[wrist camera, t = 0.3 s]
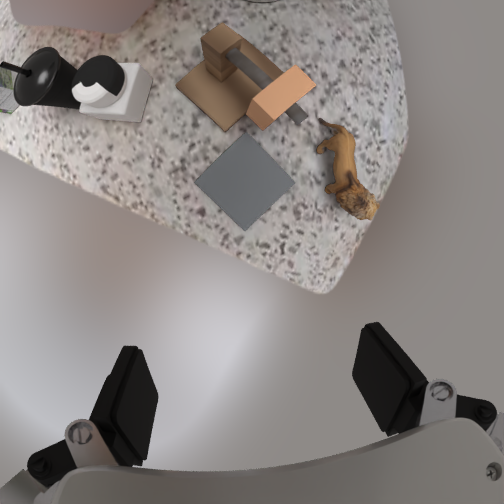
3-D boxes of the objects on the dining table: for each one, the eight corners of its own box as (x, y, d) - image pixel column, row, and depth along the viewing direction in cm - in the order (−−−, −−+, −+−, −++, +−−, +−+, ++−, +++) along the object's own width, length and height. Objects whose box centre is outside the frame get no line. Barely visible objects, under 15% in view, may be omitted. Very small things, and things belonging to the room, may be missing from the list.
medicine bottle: (112, 76, 30) (76, 51, 18) (154, 78, 31) (128, 48, 20) (100, 119, 32) (57, 107, 20) (141, 123, 33) (108, 107, 22)
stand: (238, 38, 30) (243, -4, 19) (311, 106, 35) (345, 86, 23) (176, 87, 32) (157, 58, 21) (253, 159, 36) (265, 155, 25)
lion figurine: (359, 205, 40) (390, 216, 31) (330, 216, 40) (356, 229, 31) (332, 115, 35) (360, 104, 27) (300, 123, 35) (321, 112, 27)
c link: (280, 85, 29) (295, 64, 22) (296, 101, 30) (316, 85, 22) (245, 114, 30) (252, 98, 23) (262, 130, 31) (274, 120, 23)
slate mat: (245, 132, 35) (246, 131, 34) (294, 182, 38) (295, 182, 37) (194, 182, 37) (194, 182, 36) (244, 230, 39) (244, 231, 39)
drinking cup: (89, 123, 32) (2, 105, 13) (57, 111, 30) (-28, 95, 11) (112, 79, 30) (40, 31, 11) (78, 69, 28) (4, 30, 9)
